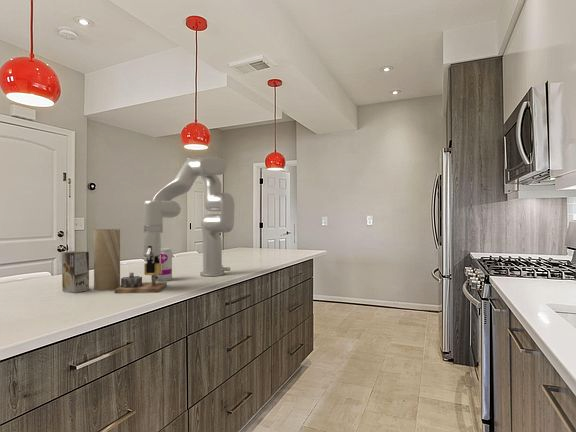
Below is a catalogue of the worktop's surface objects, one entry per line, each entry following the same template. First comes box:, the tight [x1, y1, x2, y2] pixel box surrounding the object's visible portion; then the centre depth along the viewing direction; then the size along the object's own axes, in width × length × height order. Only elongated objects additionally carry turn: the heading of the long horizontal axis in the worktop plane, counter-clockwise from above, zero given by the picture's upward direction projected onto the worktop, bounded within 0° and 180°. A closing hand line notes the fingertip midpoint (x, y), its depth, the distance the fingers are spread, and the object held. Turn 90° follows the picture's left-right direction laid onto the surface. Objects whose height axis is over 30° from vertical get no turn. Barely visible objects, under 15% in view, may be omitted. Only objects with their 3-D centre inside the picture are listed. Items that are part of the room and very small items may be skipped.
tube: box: [93, 228, 121, 291], centre depth 153 cm, size 10×10×25 cm
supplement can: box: [156, 247, 173, 282], centre depth 172 cm, size 8×8×15 cm
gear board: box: [113, 272, 167, 294], centre depth 151 cm, size 17×14×7 cm
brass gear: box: [143, 262, 162, 276], centre depth 152 cm, size 7×7×4 cm
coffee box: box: [61, 250, 90, 294], centre depth 148 cm, size 9×6×16 cm
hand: (153, 271), depth 152 cm, fingers closed on brass gear, 6 cm apart
